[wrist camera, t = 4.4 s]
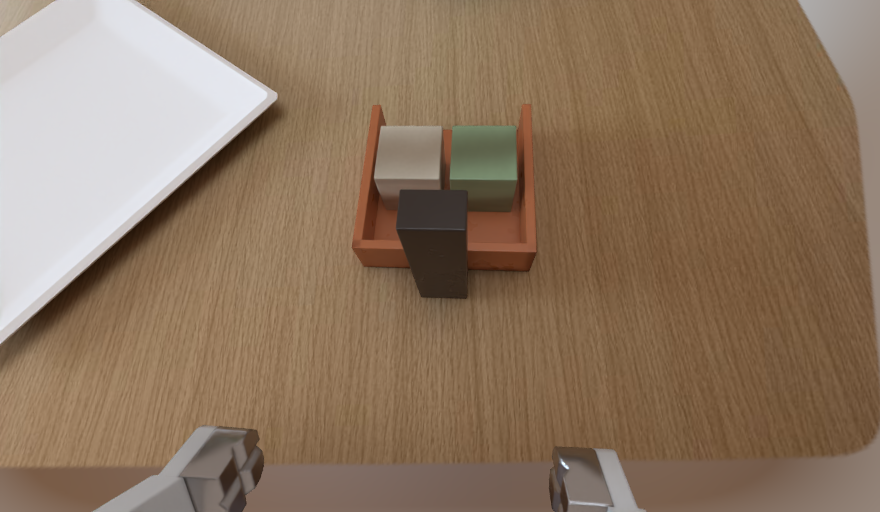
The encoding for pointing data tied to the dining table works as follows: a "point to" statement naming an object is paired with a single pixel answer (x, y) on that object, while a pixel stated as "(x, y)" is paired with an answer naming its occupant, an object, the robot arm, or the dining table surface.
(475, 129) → the sage block
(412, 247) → the pan
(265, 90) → the plate
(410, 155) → the cream block
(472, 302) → the dining table surface
